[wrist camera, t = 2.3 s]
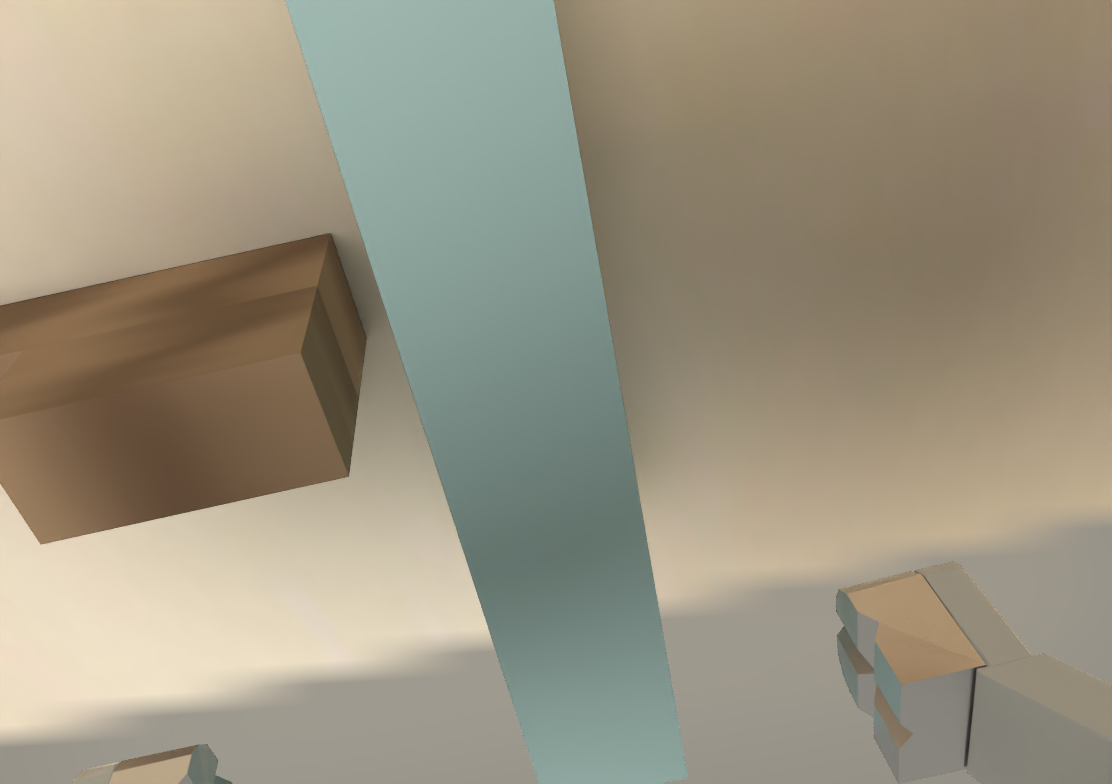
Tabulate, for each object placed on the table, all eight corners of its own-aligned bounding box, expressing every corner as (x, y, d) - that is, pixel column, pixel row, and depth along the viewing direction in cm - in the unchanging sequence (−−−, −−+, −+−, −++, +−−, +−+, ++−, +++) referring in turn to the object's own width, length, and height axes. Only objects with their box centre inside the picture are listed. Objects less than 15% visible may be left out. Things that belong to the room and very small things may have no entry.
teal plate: (491, -115, 19) (541, -68, 10) (608, 484, 27) (687, 777, 19) (349, -84, 19) (281, -11, 10) (511, 505, 27) (546, 808, 19)
